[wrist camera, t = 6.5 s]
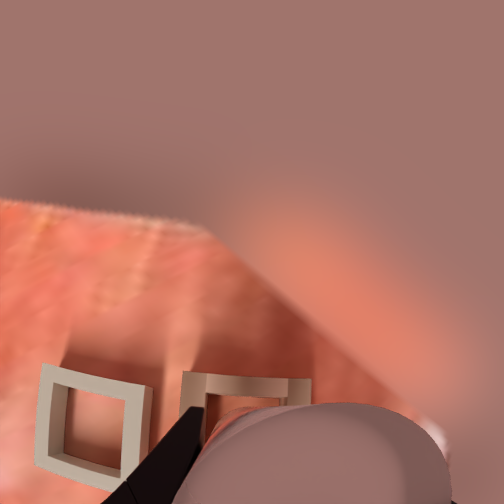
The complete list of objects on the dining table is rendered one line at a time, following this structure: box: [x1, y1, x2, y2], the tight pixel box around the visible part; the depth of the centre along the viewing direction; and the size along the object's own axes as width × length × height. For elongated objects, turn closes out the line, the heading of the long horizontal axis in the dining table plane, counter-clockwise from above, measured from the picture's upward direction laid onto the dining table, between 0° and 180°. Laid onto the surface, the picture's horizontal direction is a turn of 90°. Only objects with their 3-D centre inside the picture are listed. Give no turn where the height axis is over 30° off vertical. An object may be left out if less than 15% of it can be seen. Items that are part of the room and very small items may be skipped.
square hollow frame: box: [34, 363, 153, 492], centre depth 17 cm, size 8×8×2 cm
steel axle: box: [172, 403, 452, 504], centre depth 8 cm, size 4×4×12 cm
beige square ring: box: [179, 371, 312, 447], centre depth 18 cm, size 8×7×3 cm
